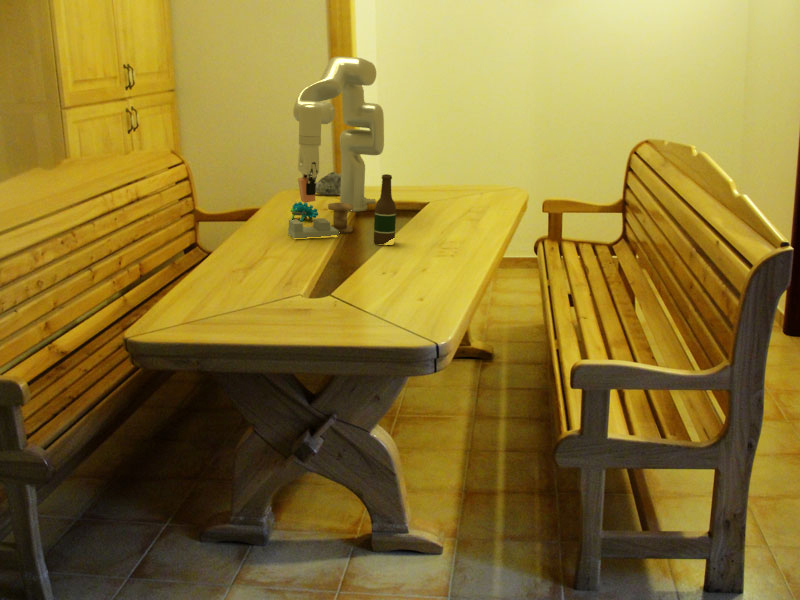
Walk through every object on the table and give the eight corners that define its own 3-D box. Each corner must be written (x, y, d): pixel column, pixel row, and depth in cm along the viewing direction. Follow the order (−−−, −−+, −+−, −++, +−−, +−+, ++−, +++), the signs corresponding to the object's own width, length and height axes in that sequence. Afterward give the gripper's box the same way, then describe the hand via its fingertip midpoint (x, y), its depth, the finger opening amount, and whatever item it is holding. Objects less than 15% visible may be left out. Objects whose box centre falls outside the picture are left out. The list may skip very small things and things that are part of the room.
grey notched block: (331, 232, 352) (331, 217, 350) (338, 237, 345) (338, 222, 343) (288, 234, 346) (288, 219, 344) (294, 240, 339) (294, 224, 337)
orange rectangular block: (301, 200, 342) (297, 178, 339) (312, 198, 343) (308, 176, 340) (304, 202, 338) (301, 180, 335) (315, 200, 340) (312, 178, 337)
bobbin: (347, 227, 361) (348, 202, 358) (355, 233, 353) (356, 207, 350) (324, 228, 357) (324, 203, 354) (332, 234, 349) (332, 208, 347)
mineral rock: (311, 195, 414) (311, 172, 411) (319, 191, 424) (320, 168, 421) (340, 198, 411) (341, 174, 408) (348, 194, 421) (348, 170, 418)
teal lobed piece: (323, 215, 370) (311, 200, 362) (318, 228, 367) (306, 213, 360) (299, 215, 375) (286, 200, 367) (294, 228, 373) (281, 213, 365)
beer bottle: (398, 242, 342) (402, 174, 335) (389, 247, 335) (392, 177, 328) (379, 239, 345) (381, 172, 338) (369, 244, 338) (371, 175, 331)
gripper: (292, 137, 341) (291, 189, 346) (306, 144, 326) (305, 198, 331) (313, 137, 343) (311, 188, 349) (327, 144, 329) (326, 197, 334)
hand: (308, 192), depth 340 cm, fingers closed on orange rectangular block, 4 cm apart
